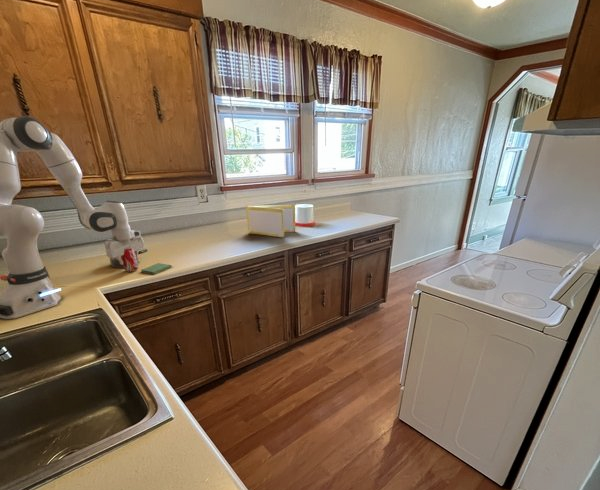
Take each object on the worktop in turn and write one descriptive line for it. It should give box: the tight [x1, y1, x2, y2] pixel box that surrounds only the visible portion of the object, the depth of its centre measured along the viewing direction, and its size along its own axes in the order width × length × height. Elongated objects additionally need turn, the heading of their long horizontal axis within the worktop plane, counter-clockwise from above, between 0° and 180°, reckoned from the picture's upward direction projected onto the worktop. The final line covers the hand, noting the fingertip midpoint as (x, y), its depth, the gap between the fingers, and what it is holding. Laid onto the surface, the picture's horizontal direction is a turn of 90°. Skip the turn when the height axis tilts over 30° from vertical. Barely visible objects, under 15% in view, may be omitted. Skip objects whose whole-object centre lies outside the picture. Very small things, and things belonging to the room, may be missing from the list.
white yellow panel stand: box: [245, 204, 296, 238], centre depth 232 cm, size 35×22×20 cm, turn 98°
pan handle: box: [138, 248, 149, 256], centre depth 188 cm, size 11×2×2 cm, turn 156°
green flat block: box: [140, 262, 172, 275], centre depth 171 cm, size 12×9×1 cm
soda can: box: [121, 247, 139, 273], centre depth 167 cm, size 7×7×12 cm
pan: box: [108, 257, 139, 269], centre depth 179 cm, size 13×13×4 cm
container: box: [294, 203, 315, 227], centre depth 264 cm, size 16×16×15 cm
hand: (129, 261), depth 168 cm, fingers closed on soda can, 7 cm apart
